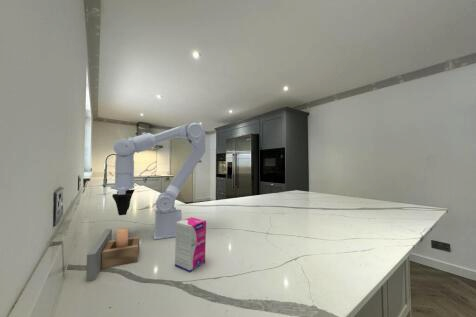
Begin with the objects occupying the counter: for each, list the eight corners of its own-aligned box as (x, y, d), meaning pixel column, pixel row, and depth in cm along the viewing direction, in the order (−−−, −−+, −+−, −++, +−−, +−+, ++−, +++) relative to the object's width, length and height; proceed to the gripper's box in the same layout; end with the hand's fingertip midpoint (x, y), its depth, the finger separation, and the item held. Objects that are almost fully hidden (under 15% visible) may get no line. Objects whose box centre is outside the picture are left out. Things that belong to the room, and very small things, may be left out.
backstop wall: (111, 247, 59) (111, 228, 60) (95, 280, 43) (95, 253, 43) (105, 248, 59) (105, 229, 59) (86, 281, 42) (87, 254, 43)
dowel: (128, 255, 55) (128, 227, 55) (127, 259, 52) (127, 230, 52) (117, 257, 54) (117, 228, 54) (115, 261, 51) (115, 232, 51)
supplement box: (190, 273, 46) (190, 225, 46) (174, 266, 49) (174, 221, 49) (206, 262, 51) (206, 219, 51) (190, 256, 54) (191, 216, 54)
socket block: (139, 249, 58) (139, 236, 58) (137, 261, 51) (137, 246, 51) (108, 254, 55) (108, 240, 55) (101, 268, 48) (101, 252, 48)
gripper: (114, 173, 72) (114, 208, 71) (107, 175, 59) (106, 219, 58) (135, 172, 75) (135, 207, 74) (132, 174, 62) (132, 216, 61)
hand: (123, 212), depth 66 cm, fingers open, 7 cm apart
